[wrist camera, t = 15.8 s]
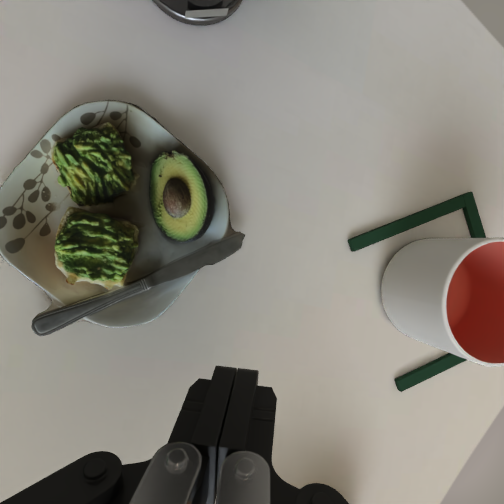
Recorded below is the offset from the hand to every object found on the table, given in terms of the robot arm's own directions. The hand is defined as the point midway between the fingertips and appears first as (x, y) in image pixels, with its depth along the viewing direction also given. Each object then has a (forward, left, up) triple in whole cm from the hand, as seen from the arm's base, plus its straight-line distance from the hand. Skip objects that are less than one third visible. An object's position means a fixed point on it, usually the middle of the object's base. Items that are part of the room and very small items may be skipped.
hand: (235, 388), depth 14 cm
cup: (+7, +22, -23) cm, 32 cm away
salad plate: (-9, -3, -23) cm, 25 cm away
